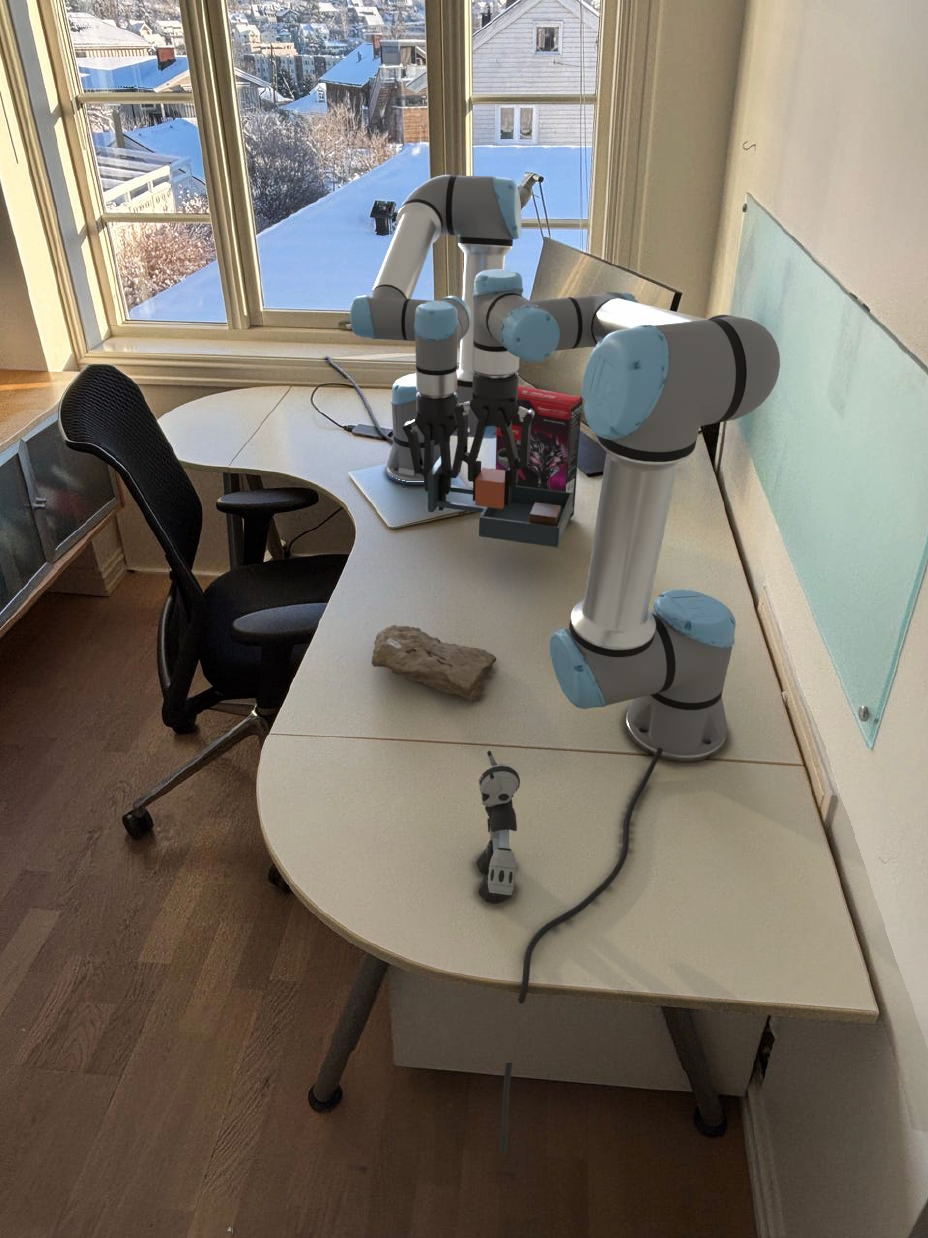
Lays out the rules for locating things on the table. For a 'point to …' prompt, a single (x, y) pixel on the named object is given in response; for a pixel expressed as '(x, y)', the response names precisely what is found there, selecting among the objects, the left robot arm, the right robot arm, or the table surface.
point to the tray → (509, 512)
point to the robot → (498, 831)
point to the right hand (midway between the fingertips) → (492, 499)
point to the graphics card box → (547, 440)
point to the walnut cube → (545, 514)
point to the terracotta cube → (490, 488)
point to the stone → (433, 661)
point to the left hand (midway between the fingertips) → (437, 506)
